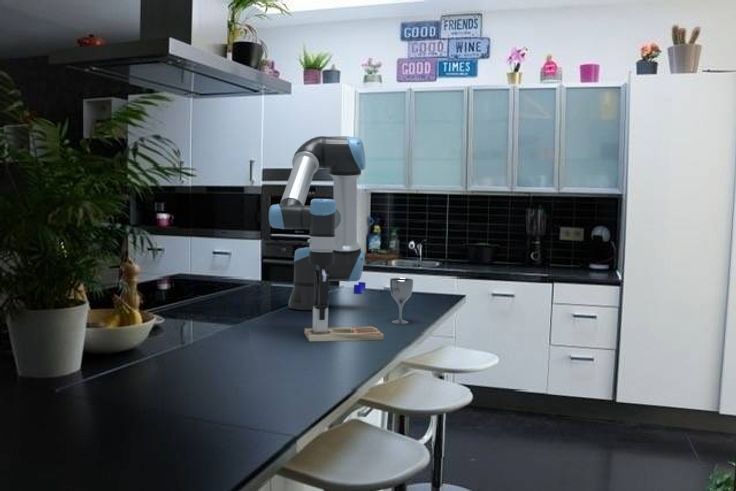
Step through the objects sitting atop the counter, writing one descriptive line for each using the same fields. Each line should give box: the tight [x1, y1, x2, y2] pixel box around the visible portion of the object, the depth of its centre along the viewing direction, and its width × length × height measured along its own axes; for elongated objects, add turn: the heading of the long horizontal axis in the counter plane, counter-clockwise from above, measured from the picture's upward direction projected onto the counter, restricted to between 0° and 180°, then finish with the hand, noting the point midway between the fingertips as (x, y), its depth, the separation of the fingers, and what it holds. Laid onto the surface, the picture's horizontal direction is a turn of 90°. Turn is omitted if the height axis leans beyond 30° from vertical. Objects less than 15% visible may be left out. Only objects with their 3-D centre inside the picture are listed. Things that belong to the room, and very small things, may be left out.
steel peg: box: [311, 306, 329, 334], centre depth 186 cm, size 4×4×9 cm
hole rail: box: [304, 326, 384, 342], centre depth 188 cm, size 12×22×2 cm, turn 103°
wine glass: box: [389, 277, 414, 325], centre depth 214 cm, size 8×8×15 cm
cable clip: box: [353, 281, 367, 295], centre depth 277 cm, size 12×4×6 cm, turn 170°
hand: (320, 328), depth 186 cm, fingers closed on steel peg, 4 cm apart
